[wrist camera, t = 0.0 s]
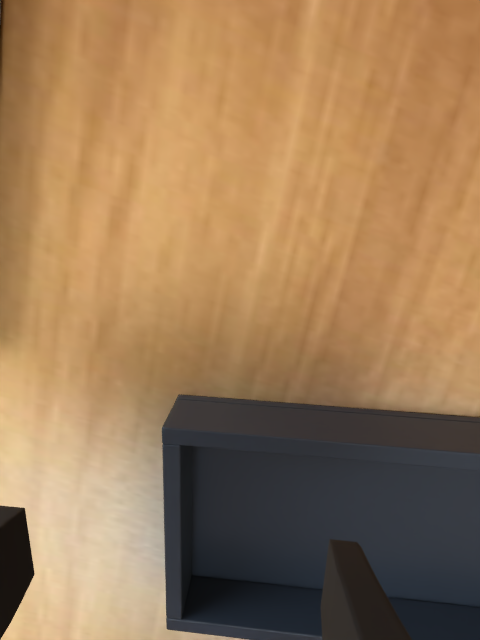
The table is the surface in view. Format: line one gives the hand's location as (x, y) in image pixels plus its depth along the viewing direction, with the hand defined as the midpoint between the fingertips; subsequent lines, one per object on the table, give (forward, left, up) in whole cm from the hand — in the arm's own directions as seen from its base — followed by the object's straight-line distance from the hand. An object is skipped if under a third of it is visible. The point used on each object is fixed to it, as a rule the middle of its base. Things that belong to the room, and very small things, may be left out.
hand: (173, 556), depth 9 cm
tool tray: (-7, -10, -10) cm, 16 cm away
